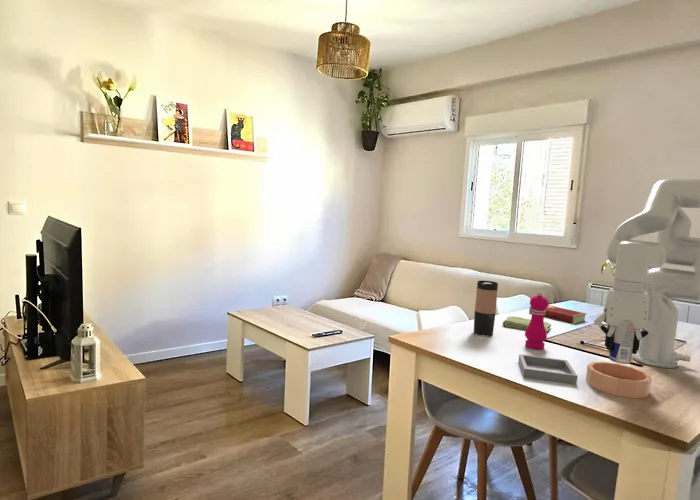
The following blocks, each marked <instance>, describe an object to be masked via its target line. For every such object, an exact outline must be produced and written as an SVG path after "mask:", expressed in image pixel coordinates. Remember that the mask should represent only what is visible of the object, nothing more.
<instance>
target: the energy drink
mask: <svg viewBox="0 0 700 500" xmlns="http://www.w3.org/2000/svg"><path fill="white" fill-rule="evenodd" d="M634 335H635V329H634V324H633V323H632V321H626V320H623V321H622V322H621V323H620V325H619V327H616V328H615V330H614V332H613V334H612V337H613V338H614V340H613V348H612V351H609V356H608V359H609V360H610V362H612V363H617V364H622V365H631V363H632V358H633V353H632V351H633V343H634Z"/></svg>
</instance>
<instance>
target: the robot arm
mask: <svg viewBox="0 0 700 500" xmlns="http://www.w3.org/2000/svg"><path fill="white" fill-rule="evenodd" d="M682 208H689V209H700V179H698V178H690V179H689V178H685V179H684V178H679V179H678V178H674V179H673V178H668V179H662V180H659V181H657V182H656V183H655V184H654V185H653V186H652V187H651V190H650V192H649V194H648V196H647V199H646V201H645V204H644V205H643V208H642V210H641V212H640V213H639V214H636V215H634V216H632V217H630V218H628V219H627V220H626V221H624V222H622V223H621V224H620V225H619V226H618V227H617V228H616V229H615V231H614V232H613V235H612V237H611V239H610V241H609V243H608V247H607V252H606V255H607V260H608V261H609V262H610V263H611V264H613V265H615V266H614V267H615V268H614V277H613V284H612V288H610V289H608V291H607V295H606V298H605V303H604V307H603V312H602V314H600V315H599V316H598V317H597V318H596V319H594V320H593V322H594V324H595V325H597V327H598V328H599V329H600V330H601V331H602V332H603V333H604V334H605V340H604V347H605V348H606V349H607V351H608V352H610V351H612V348H613V340H614V338H613V337H612V334H613V332H614V330H615V328H616V327H619V325H620V323H621V322H622V321H623V320H626V321H632V323H633V324H634V329H635V335H634V343H633V351H632V358H633V360H635V361H637V362H638V363H642V364H644V365H647V366H652V367H657V368H662V369H663V368H664V369H674V368H677V367H678V365H679V363H678V362H679V361H682V362H690V361H691V356H690V355H688V354H687V355H686V354H683V353H679V352H676V351H675V344H676V338H677V337H676V335H677V328H678V321H679V309H678V308H677V306H676V304H675V303H674V302H673V300H680V301H687V302H692V303H700V237H694V236H693V237H692V236H690V234H691V227H692V221H691V219H690V217H689V215H688V214H687V213H686V212H685V211H684V209H682ZM653 233H657V238H656V242H654V241H645V240H634V238H637V237H640V236H646V235H650V234H653ZM664 264H665V265H673V266H677V267H678V266H681V267H687V268H693V269H694V271H692V270H683V269H676V268H669V267H667V268H666V267H662V266H663V265H664ZM603 323H605V324H606V325H607V326H605V325H604V324H603Z"/></svg>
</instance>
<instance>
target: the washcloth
mask: <svg viewBox="0 0 700 500" xmlns="http://www.w3.org/2000/svg"><path fill="white" fill-rule="evenodd" d="M530 321H531V318H524V317H518V316H507V318H506V319H504V320H503V322H502V326H503V327H504V328H510V329H516V330H522V331H526V328H527V327H528V325H529V323H530ZM543 322H544V327H545V329H546V333H547V332H548V331H549V330H550V328H551V326H552V324H551V323H549V322H546V321H543Z"/></svg>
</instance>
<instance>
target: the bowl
mask: <svg viewBox="0 0 700 500" xmlns="http://www.w3.org/2000/svg"><path fill="white" fill-rule="evenodd" d="M585 374H586V375H585V381H586V383H587V384H588V386H590V387H592V388H593V389H596V390H597V391H600V392H603V393H606V394H609V395H612V396H616V397H622V398H628V399H643V398H647V397H648V396H649V395H650V394H651V385H652V376H651V375H649V374H648V373H647V372H645V371H642V370H641V369H639V368H636V367H633V366H629V365H627V364H620V363H616V362H609V361H608V362H607V361H592V362H590V363H588V364H587V368H586V373H585Z"/></svg>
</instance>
